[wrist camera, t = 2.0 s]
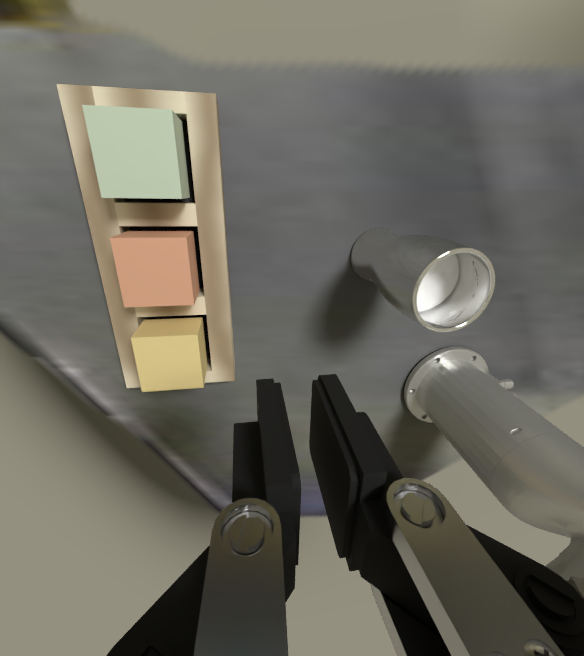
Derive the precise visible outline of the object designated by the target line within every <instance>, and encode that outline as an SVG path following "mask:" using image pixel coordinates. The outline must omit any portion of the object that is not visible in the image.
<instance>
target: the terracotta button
mask: <svg viewBox="0 0 584 656" xmlns="http://www.w3.org/2000/svg"><path fill="white" fill-rule="evenodd" d="M110 241H111V246H112V251H113V255H114V260H115V265H116V270H117V275H118V279H119V284H120V289H121V294H122V299H123V303H124V307H152V306H180V305H194V304H195V302H196V299H197V296H198V294H199V291H200V289H199V279H198V270H197V260H196V251H195V241H194V232H193V231H126V232H124V233H121V234H119V235H116V236H113V237H111V238H110Z"/></svg>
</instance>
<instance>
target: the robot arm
mask: <svg viewBox="0 0 584 656" xmlns="http://www.w3.org/2000/svg"><path fill="white" fill-rule="evenodd" d="M256 385H257V415H258V421H257V422H246V423H235V424H234V443H233V493H232V503H231V504H229V505H228V506H227V507H226V508H224V509H223V510H222V511H221V512H220V514H219V515H218V517H217V518H216V520H215V523H214V526H213V529H212V534H211V541H210V546H209V547H207V549H206V550H205V551H204V552H203V553H202V554H201V555H200V556H199V557H198V558H197V559H196V560H195V561H194V562H193V564H191V565H190V566H189V568H188V569H187V570H186V571H185V572H184V573H183V574H182V575H181V576H180V577H179V578H178V579H177V580H176V581H175V582H174V583H173V585H171V587H170V588H169V589H168V590H167V591H166V592H165V593H164V594H163V595H162V596H161V597H160V598H159V599H158V600H157V601H156V602H155V603H154V604H153V606H152V607H151V608H150V609H149V610H148V611H147V612H146V613H145V614H144V615H143V616H142V617H141V618H140V619H139V620H138V621H137V622H136V623H135V625H134V626H133V627H132V628H131V629H130V630H129V631H128V632H127V633H126V634H125V635H124V636H123V637H122V638H121V639H120V640H119V641H118V642H117V643H116V645H115V646H114V647H113V648H112V649H111V651H110V652H109V653H108V654H107V656H288V645H287V644H288V643H287V626H286V607H285V603H286V601H287V599H288V598H289V596H290V595H291V593H292V591H293V590H294V588H295V565H298V553H299V528H300V503H301V481H300V473H299V468H298V463H297V458H296V454H295V449H294V445H293V440H292V435H291V431H290V426H289V421H288V417H287V412H286V407H285V403H284V398H283V393H282V389H281V384H280V383H274V380H273V379H260V380H256ZM512 387H513V381H512V380H511V379H500V380H497V379H496V378H495V377H493V376H492V375H491V374H489V373H488V367H487V364H486V362H485V361H484V359H483V358H482V357H481V356H480V355H479V354H477V353H476V352H474V351H473V350H471V349H468V348H465V347H448V348H444V349H441V350H438V351H436V352H433V353H432V354H430V355H428V356H427V357H425V358H424V359H423V360H422V361H420V362H419V363H418V364H417V366H416V367H415V368H414V369H413V370H412V372H411V373H410V375H409V377H408V379H407V381H406V384H405V388H404V400H405V404H406V406H407V408H408V409H409V410H410V412H411V413H412V414H413V415H414V416H415V417H416V418H418V419H420V420H422V421H425V422H429V423H434V424H435V425H436V426H437V428H438V429H439V430H440V431H441V432H442V434H443V435H444V436H445V437H446V438H447V440H448V441H449V442H450V443H451V444H452V446H453V447H454V448H455V449H456V450H457V452H458V453H459V454H460V455H461V456H462V458H463V459H464V460H465V461H466V462H467V464H468V465H469V466H470V467H471V468H472V469H473V471H474V472H475V473H476V474H477V476H478V477H479V478H480V479H481V480H482V481H483V483H484V484H485V485H486V486H487V488H489V490H490V491H491V492H492V493H493V495H494V496H495V497H496V498H497V499H498V500H499V502H500V503H501V504H502V505H503V506H504V507H505V508H506V509H507V510H508V511H509V512H510V513H511V514H513V515H514V516H515V517H517V518H518V519H520V520H521V521H523V522H525V523H527V524H529V525H531V526H534V527H536V528H539V529H542V530H545V531H549V532H552V533H555V534H559V535H562V536H566V537H569V538H571V542H570V544H569V546H568V547H567V548H566V549H565V550H563V551H562V552H561V553H560V554H559V556H558V557H556V558H555V559H554V560H552V561H551V562H550V563H549V564H547V565H546V566H544V565H542V564H540V563H538V562H536V561H534V560H532V559H530V558H528V557H526V556H525V555H522V554H521V553H519V552H517V551H515V550H513V549H511V548H510V547H508V546H506V545H504V544H502V543H500V542H498V541H496V540H494V539H492V538H491V537H489V536H487V535H485V534H483V533H481V532H479V531H477V530H475V529H474V528H472V527H470V526H468V525H466V524H465V522H464V521H463V520H462V519H461V517H460V516H459V514H458V513H457V512H456V510H455V509H454V508H453V507H452V505H451V504H450V502H449V501H448V500H447V498H446V497H445V496H444V495H443V494H442V493H441V492H440V491H439V490H438V489H436V488H435V487H433V486H432V485H430V484H428V483H426V482H424V481H422V480H418V479H413V478H403V477H402V475H401V473H400V471H399V470H398V468H397V466H396V464H395V463H394V461H393V459H392V457H391V456H390V454H389V452H388V450H387V449H386V447H385V445H384V443H383V442H382V440H381V438H380V436H379V435H378V433H377V431H376V429H375V428H374V426H373V424H372V422H371V421H370V419H369V417H368V416H367V414H366V413H364V412H357V413H356V411H355V409H354V407H353V405H352V403H351V401H350V399H349V398H348V396H347V394H346V392H345V390H344V388H343V386H342V384H341V382H340V381H339V379H338V377H337V375H336V374H331V375H319V376H318V380H313V383H312V401H311V421H310V441H309V445H310V453H311V457H312V461H313V465H314V468H315V472H316V476H317V479H318V483H319V487H320V490H321V494H322V498H323V501H324V505H325V509H326V512H327V516H328V520H329V523H330V527H331V531H332V534H333V538H334V542H335V545H336V549H337V552H338V555H339V557H340V558H344V557H346V560H347V564H348V567H349V571H355V570H359V571H360V575H361V577H362V578H364V579H365V580H366V581H368V582H369V583H370V584H371V588H372V592H373V595H374V598H375V600H376V603H377V605H378V608H379V611H380V613H381V616H382V618H383V621H384V623H385V626H386V628H387V631H388V633H389V636H390V638H391V641H392V644H393V646H394V649H395V651H396V654H397V656H584V447H583V446H581V445H580V444H579V443H577V442H576V441H575V440H573V439H572V438H571V437H569V436H568V435H567V434H565V433H564V432H563V431H561V430H560V429H559V428H557V427H556V426H555V425H553V424H552V423H551V422H549V421H548V420H546V419H545V418H544V417H542V416H541V415H540V414H538V413H537V412H536V411H534V410H533V409H532V408H530V407H529V406H528V405H526V404H525V403H524V402H522V401H521V400H520V399H518V398H517V396H516V394H515V393H514V392H512V391H508V390H506V389H510V388H512Z"/></svg>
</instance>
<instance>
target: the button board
mask: <svg viewBox="0 0 584 656" xmlns="http://www.w3.org/2000/svg"><path fill="white" fill-rule="evenodd" d="M57 88H58V92H59V97H60V101H61V105H62V110H63V114H64V118H65V123H66V127H67V131H68V136H69V140H70V144H71V149H72V153H73V157H74V162H75V166H76V170H77V175H78V179H79V183H80V188H81V192H82V196H83V201H84V205H85V209H86V214H87V218H88V222H89V227H90V231H91V235H92V240H93V244H94V248H95V253H96V257H97V261H98V266H99V270H100V274H101V279H102V283H103V287H104V292H105V296H106V300H107V305H108V309H109V313H110V318H111V322H112V326H113V331H114V335H115V339H116V344H117V348H118V352H119V357H120V361H121V365H122V370H123V374H124V378H125V383H126V387H127V388H137V387H141V385H140V380H139V375H138V370H137V366H136V361H135V356H134V351H133V346H132V342H131V337H132V336H133V334H134V333H135V331H136V330H137V329H138V327H139V326H140V324H141V323H142V322H143V320H147V318H146V317H157V316H182V315H206V316H207V326H208V336H209V346H210V356H211V359H207V365H208V366H207V371H206V377H205V383H208V382H223V381H235V361H234V345H233V330H232V314H231V299H230V284H229V268H228V253H227V237H226V222H225V207H224V191H223V176H222V160H221V145H220V130H219V114H218V102H217V97H216V94H212V93H196V92H179V91H163V90H146V89H130V88H114V87H97V86H81V85H65V84H57ZM82 105H96V106H115V107H134V108H153V109H172V110H173V111H174V113H175V114H176V115H177V116H178V117H179V119H180V120H187V124H188V134H189V145H190V155H191V165H192V175H193V185H194V195H195V202H125V198H101V193H100V188H99V184H98V179H97V174H96V169H95V165H94V160H93V155H92V150H91V145H90V141H89V136H88V131H87V126H86V121H85V117H84V112H83V107H82ZM130 226H198V235H199V245H200V255H201V265H202V276H203V286H204V288H203V289H200V291H199V294H198V296H197V299H196V302H195V304H194V305H180V306H152V307H124V303H123V299H122V294H121V289H120V284H119V279H118V275H117V270H116V265H115V260H114V255H113V251H112V246H111V241H110V238H111V237H113V236H116V235H119V234H121V233H124V232H126V231H131V230H130Z"/></svg>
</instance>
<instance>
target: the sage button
mask: <svg viewBox="0 0 584 656" xmlns="http://www.w3.org/2000/svg"><path fill="white" fill-rule="evenodd" d="M82 107H83V112H84V117H85V121H86V126H87V131H88V136H89V141H90V145H91V150H92V155H93V160H94V165H95V169H96V174H97V179H98V184H99V188H100V193H101V198H153V199H184V198H190V194H189V184H188V175H187V165H186V156H185V146H184V137H183V127H182V121H181V120H180V119H179V117H178V116H177V115H176V114H175V113H174V111H173V110H172V109H153V108H134V107H115V106H96V105H82Z"/></svg>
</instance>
